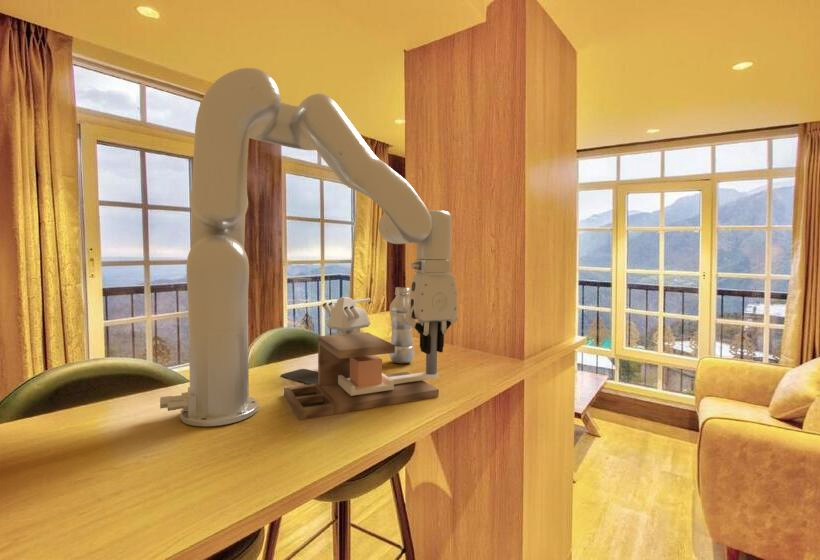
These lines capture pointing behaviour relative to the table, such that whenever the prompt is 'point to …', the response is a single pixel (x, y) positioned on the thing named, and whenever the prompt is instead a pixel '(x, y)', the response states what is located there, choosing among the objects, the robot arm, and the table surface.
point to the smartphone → (302, 376)
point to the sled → (390, 381)
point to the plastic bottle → (401, 327)
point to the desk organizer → (337, 362)
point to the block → (366, 370)
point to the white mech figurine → (347, 316)
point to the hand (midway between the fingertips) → (431, 351)
